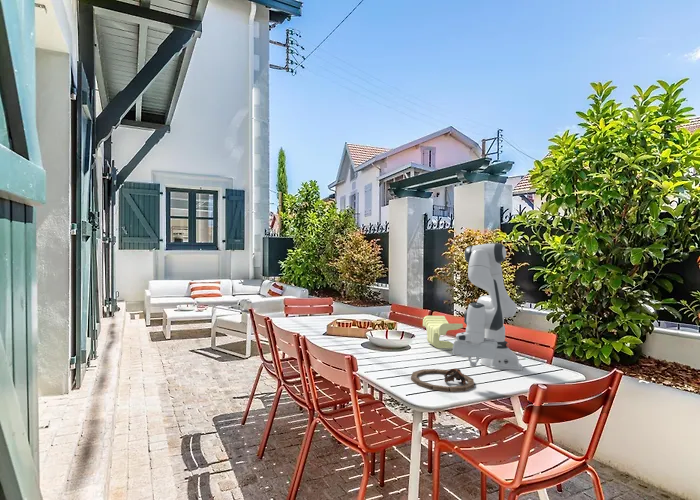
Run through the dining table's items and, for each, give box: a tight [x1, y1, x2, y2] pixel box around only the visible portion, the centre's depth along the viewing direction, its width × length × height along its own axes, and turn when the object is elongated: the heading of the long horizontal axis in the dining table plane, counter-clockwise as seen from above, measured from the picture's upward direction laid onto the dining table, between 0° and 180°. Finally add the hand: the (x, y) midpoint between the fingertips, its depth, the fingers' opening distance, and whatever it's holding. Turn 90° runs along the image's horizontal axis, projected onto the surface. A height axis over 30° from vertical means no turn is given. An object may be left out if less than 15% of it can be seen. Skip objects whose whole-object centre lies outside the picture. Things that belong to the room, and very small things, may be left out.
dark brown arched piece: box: [443, 368, 467, 385], centre depth 201 cm, size 12×10×8 cm
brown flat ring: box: [410, 368, 475, 393], centre depth 203 cm, size 30×30×2 cm
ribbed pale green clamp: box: [422, 315, 464, 349], centre depth 280 cm, size 30×16×18 cm, turn 10°
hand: (473, 365), depth 199 cm, fingers closed
